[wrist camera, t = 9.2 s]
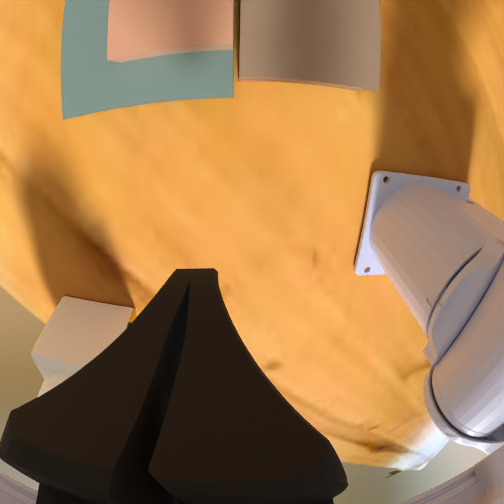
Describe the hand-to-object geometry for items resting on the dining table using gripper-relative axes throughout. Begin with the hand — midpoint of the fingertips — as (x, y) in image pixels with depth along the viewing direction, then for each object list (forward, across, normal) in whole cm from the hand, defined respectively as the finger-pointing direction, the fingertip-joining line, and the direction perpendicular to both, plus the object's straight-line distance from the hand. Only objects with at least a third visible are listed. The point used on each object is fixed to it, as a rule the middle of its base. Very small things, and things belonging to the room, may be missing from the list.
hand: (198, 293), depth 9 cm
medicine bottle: (+10, +11, +12) cm, 19 cm away
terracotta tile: (+8, +2, -13) cm, 16 cm away
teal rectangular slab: (+9, +4, -13) cm, 16 cm away
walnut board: (+9, -5, -13) cm, 17 cm away
